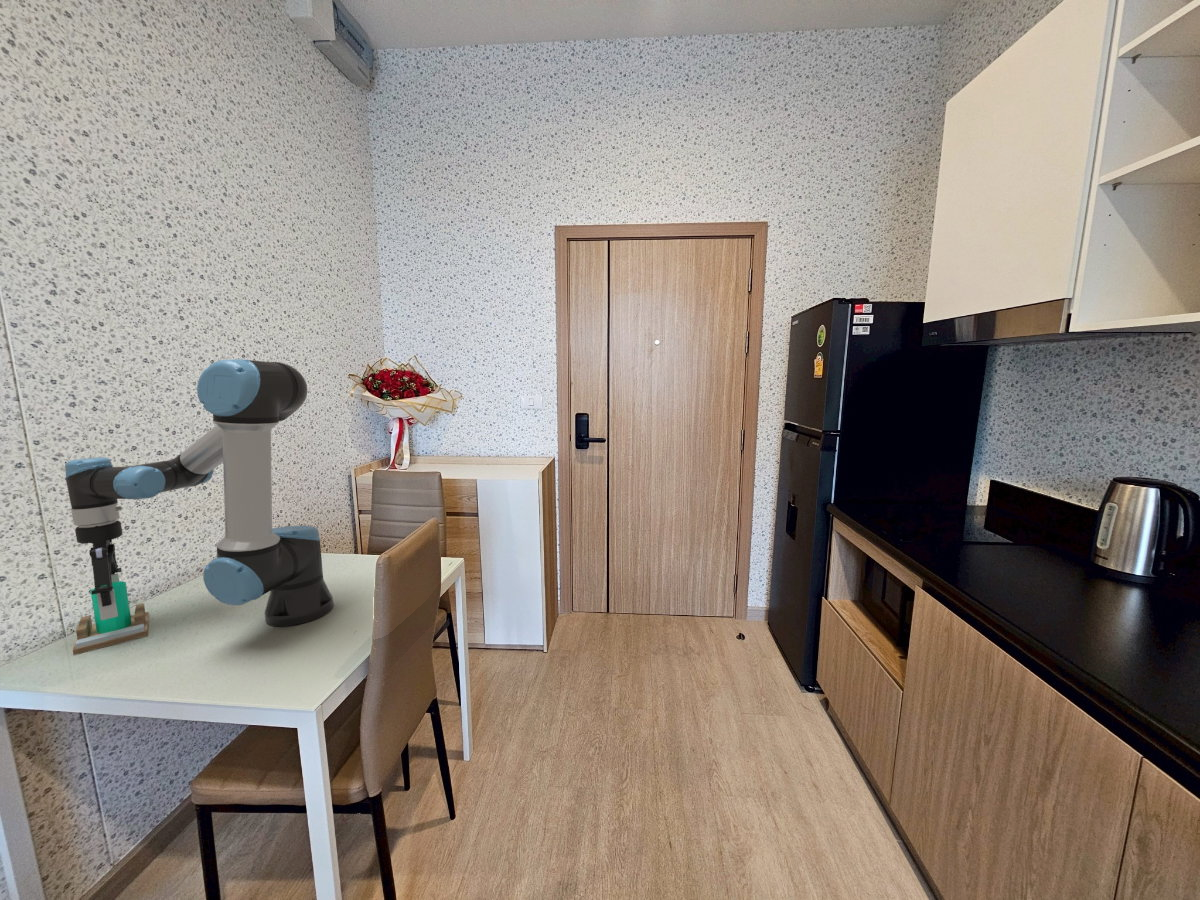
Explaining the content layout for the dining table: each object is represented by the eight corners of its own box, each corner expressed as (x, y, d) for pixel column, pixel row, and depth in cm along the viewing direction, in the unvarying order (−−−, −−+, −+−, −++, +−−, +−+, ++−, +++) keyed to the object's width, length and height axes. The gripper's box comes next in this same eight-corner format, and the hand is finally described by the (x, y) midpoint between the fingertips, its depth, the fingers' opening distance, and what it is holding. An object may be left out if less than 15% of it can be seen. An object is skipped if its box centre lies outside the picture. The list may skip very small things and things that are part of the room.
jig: (147, 635, 114) (145, 619, 113) (73, 655, 106) (70, 637, 105) (149, 615, 124) (146, 600, 123) (81, 632, 116) (79, 615, 115)
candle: (136, 619, 119) (130, 573, 118) (124, 630, 114) (117, 582, 112) (104, 624, 117) (97, 577, 116) (91, 635, 112) (83, 587, 110)
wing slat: (144, 631, 113) (143, 627, 113) (76, 648, 106) (75, 644, 106) (144, 627, 115) (143, 623, 115) (77, 644, 108) (77, 639, 108)
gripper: (116, 530, 105) (130, 620, 108) (123, 511, 124) (136, 588, 126) (66, 537, 100) (82, 632, 103) (81, 517, 119) (95, 597, 121)
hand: (112, 608), depth 115 cm, fingers open, 13 cm apart
